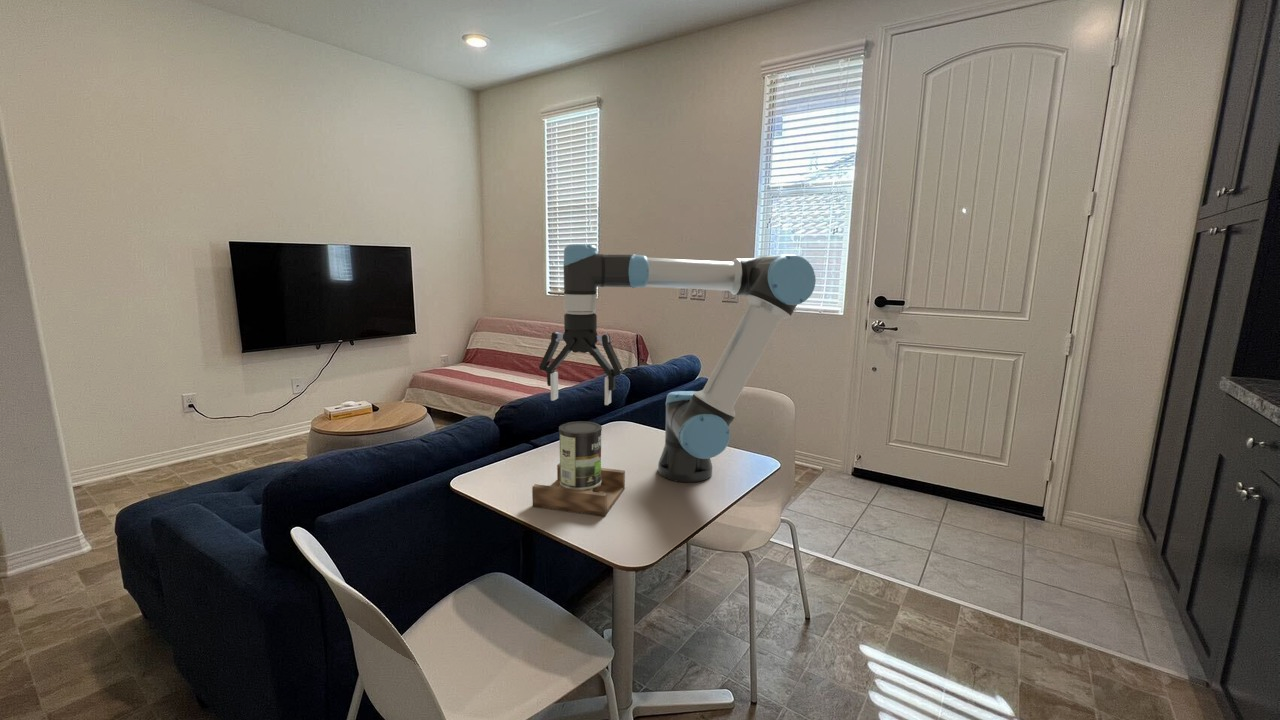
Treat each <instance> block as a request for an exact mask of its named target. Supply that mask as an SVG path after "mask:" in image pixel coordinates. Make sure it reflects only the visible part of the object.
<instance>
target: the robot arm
mask: <svg viewBox="0 0 1280 720" xmlns="http://www.w3.org/2000/svg"><path fill="white" fill-rule="evenodd" d="M816 279H817V278H816V274H815V271H814V268H813V266H812V264H811V263H810V262H809V260H807V259H806V258H805V257H803V256H800V255H798V254H794V253H793V254H792V253H783V254H774V255H765V256H757V257H750V258H742V257H741V258H734V259H732V261H723V260H722V261H720V260H701V259H700V260H699V259H681V258H680V259H679V258H665V257H664V258H663V257H661V258H660V257H647V256H646V255H644V254H635V253H634V254H604V253H603V254H602V253H598V251H597V246H596V245H592V244H569V245H566V246H565V247H564V250H563V293H564V295H563V302H564V303H563V310H564V311H565V312H566V313H564V315H563V316H564V318H563V320H564V321H563V322H564V326H563V327H564V332H563V333H562V332H560V331H554V332H552V333H551V335H550V336H551V337H550V343H549V344H548V346H547V350H546V352H545V353H544V356H543V358H542V360H541V362H540V364H539V366H538V368H539V370H540V371H544V372H545V373H546V382H547V383H546V384H547V386H548V387H550V401H556V400H557V399H559V371H556V370H557V369H558V367H559V366H560V365H561V363H562V362H563V361H564V360H565V359H566V358H567V356H568V355H569V354H570V353H571V352H572V353H574V354H575V353H581V354H586V353H588V354H589V355H590V356H592V357H593V359H594V360H595V361H596V362H597V364H598V365H599V366H600V368H601V370H603V372H604V373H605V374H606V375H607V376H605V377H604V406H609V404H611V403H612V391H614V390H615V389H616V376H620V375H621V374H623V373H624V369H623V367H622V365H621V363H620V361H619V360H620V359H618V356H617V354H616V351H615V349H614V348H613V345H612V343H611V342H612V341H611V336H610V334H609V333H605V334H601V335H600V334H599V335H598V332H597V330H598V328H597V327H598V325H597V321H598V320H597V319H598V315H597V314H596V313H595V312H596V311H597V303H598V302H597V297H598V296H597V293H598V292H597V289H598V288H605V287H607V288H632V289H634V288H663V289H665V288H666V289H683V290H684V289H687V290H705V291H706V290H707V291H708V290H709V291H728V292H729V293H731V295H734V296H745V297H747V298H746V299H747V301H748V307H747V308H746V310H745V312H744V314H743V316H742V317H741V319H740V321H739V323H738V325H737V326H736V328H735V330H734V332H733V334H732V336H731V338H730V339H729V341H728V343H727V345H726V347H725V348H724V350H723V352H722V354H721V356H720V357H719V360H718V361H717V363H716V365H715V366H714V369H713V371H711V374H710V375H709V378H708V380H707V381H706V382H705V385H704V387H703V389H701V390H698V391H695V390H687V391H686V390H677V391H671V392H669V393H668V394H667V395H666V400H665V429H664V430H665V432H664V433H665V436H664V437H665V439H664V441H665V442H664V446H663V450H662V452H661V454H660V457H659V460H658V463H657V464H658V465H657V471H658V474H659V475H660V476H661V477H663V478H664V479H667V480H670V481H674V482H678V483H679V482H680V483H697V482H703V481H706V480H708V479H710V478H711V477H712V475H713V463H712V460H711V459H712V458H714V457H717V456H719V455H721V454H722V452H724V451H725V450H726V448H727V446H729V443H730V439H731V430H730V427H731V425H732V423H733V421H734V419H735V417H736V412H735V404H736V402H737V401H738V399H739V397H740V395H741V393H742V391H743V389H744V388H745V386H746V384H747V382H748V381H749V379H750V378H751V375H752V373H753V372H754V370H755V368H756V366H757V365H758V363H759V360H760V359H761V358H762V356H763V354H764V352H765V351H766V348H767V346H768V345H769V343H770V341H771V340H772V339H773V338H772V337H773V336H774V334H775V332H776V331H777V328H778V327H779V325H780V323H781V322H782V321H785V320H787V319H790V318H791V317H792V314H793V313H794V311H795V310H796V308H797V306H798V305H801V304H803V303H804V302H806V301H807V300H809V298H810V297H811V296H812V294H813V293H814V291H815V287H816ZM562 340H563V341H564V343H565V344H566V345H565V346H564V347H562V349H561V351H560V352H559V353H558V354H557V356H556V357H555V358H554V359H553V357H554V355H555V353H556V350H557V348H558V346H559V344H560V342H562ZM598 341H599V343H600V344H601V345H602V347H603V350H604V352H605V354H606V357H607V359H608V360H607V359H606V358H605V356H604V355H603V354H602V353H601V351H600V349H599V347H598V346H597V345H596V344H597V343H598ZM552 359H553V361H552ZM551 361H552V362H551ZM608 361H609V362H610V363H609V362H608Z"/></svg>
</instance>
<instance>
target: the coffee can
mask: <svg viewBox="0 0 1280 720" xmlns="http://www.w3.org/2000/svg"><path fill="white" fill-rule="evenodd" d="M602 429H603V426H602V425H601V424H599V423H596V422H594V421H583V420H581V421H580V420H579V421H569V422H566V423H563V424H560V425H559V426H558V431H559V463H560V485H561V486H562V487H564V488H569V489H576V490H588V489H593V488H595V487H597V486H599V485H600V484H601V468H602Z"/></svg>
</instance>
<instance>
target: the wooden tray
mask: <svg viewBox="0 0 1280 720" xmlns="http://www.w3.org/2000/svg"><path fill="white" fill-rule="evenodd" d="M556 467H557V468H556V470H557V471H556V473H557V474H556V475H557V476H556V477H557V479H556V480H555V481H554V482H553V483H552V484H551V485H544V484H536V483H535V484H533V486H532V488H531V489H532V490H531V492H532V496H531V497H532V507H533V508H541V509H546V510H547V509H548V510H555V511H562V512H568V513H569V512H570V513H576V514H583V515H591V516H598V517H603V518H605V517H606V516H607V515H608V513H609V511H610V510H611V509H612V507H613V506H614V505H615V504H616V502H617V500H619V498H620V497H621V495H622V494H623V492H624V491H625V489H626V487H625V485H626V484H625V482H626V473H625V472H626V470H622V469H613V468H607V467H605V468H604V467H601V484H600V485H599V486H597V487H595V488H593V489H588V490H576V489H569V488H564V487H562V486H561V485H560V462H559V463H557V466H556Z"/></svg>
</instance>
